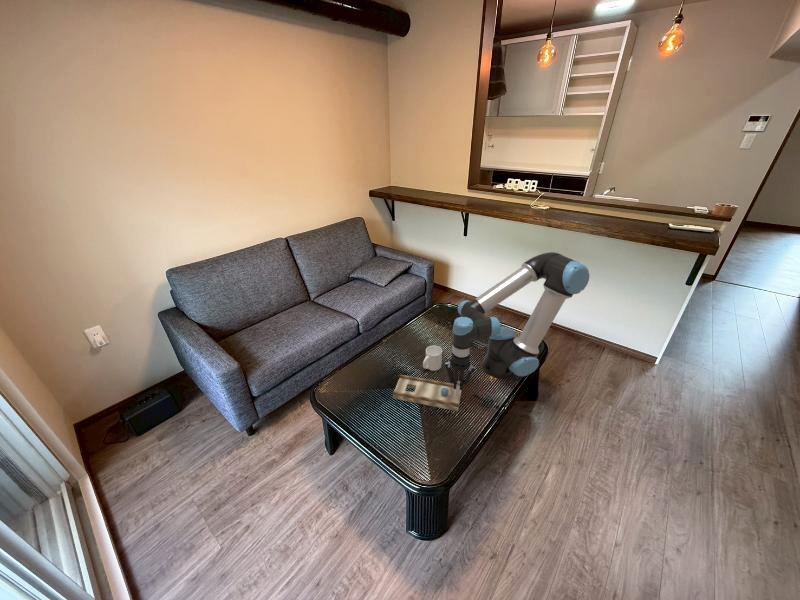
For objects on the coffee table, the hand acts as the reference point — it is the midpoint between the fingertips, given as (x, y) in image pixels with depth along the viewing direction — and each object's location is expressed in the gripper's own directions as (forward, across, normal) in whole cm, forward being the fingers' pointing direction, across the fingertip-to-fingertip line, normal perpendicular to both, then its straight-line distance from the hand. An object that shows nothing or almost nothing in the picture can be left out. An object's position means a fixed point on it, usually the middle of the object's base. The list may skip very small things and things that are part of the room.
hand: (457, 393), depth 136 cm
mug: (+5, +16, -19) cm, 25 cm away
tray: (+4, +14, 0) cm, 14 cm away
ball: (0, +6, 0) cm, 6 cm away
